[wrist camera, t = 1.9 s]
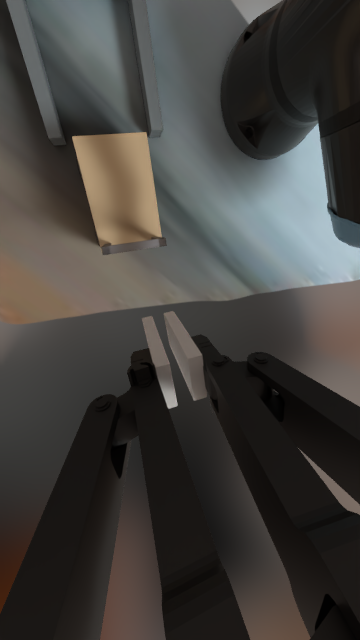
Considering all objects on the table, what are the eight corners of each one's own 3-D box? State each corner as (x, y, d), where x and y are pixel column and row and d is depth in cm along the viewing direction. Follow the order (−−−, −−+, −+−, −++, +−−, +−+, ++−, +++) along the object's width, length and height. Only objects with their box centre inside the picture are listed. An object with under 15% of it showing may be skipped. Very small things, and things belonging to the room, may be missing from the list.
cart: (145, 151, 31) (160, 104, 19) (158, 240, 36) (177, 245, 24) (77, 156, 29) (49, 108, 18) (101, 249, 34) (91, 259, 23)
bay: (137, -23, 25) (139, -48, 23) (159, 136, 31) (163, 129, 28) (1, -29, 22) (-12, -58, 20) (54, 145, 28) (48, 138, 26)
